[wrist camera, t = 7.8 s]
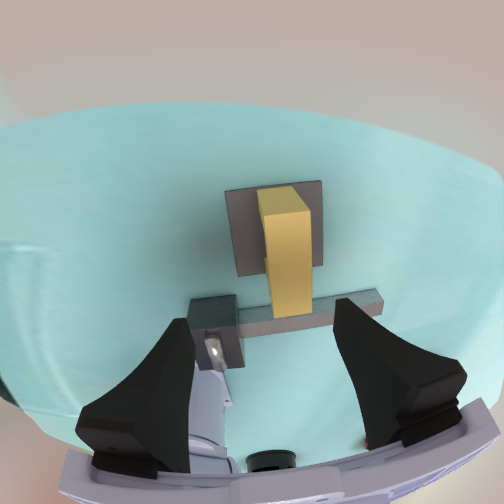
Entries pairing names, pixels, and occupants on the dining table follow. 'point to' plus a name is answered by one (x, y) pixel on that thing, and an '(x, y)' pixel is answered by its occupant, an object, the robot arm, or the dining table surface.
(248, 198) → the rubber mat
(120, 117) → the dining table surface
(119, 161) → the dining table surface
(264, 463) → the french press
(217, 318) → the grey block with bar
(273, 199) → the yellow pull handle
